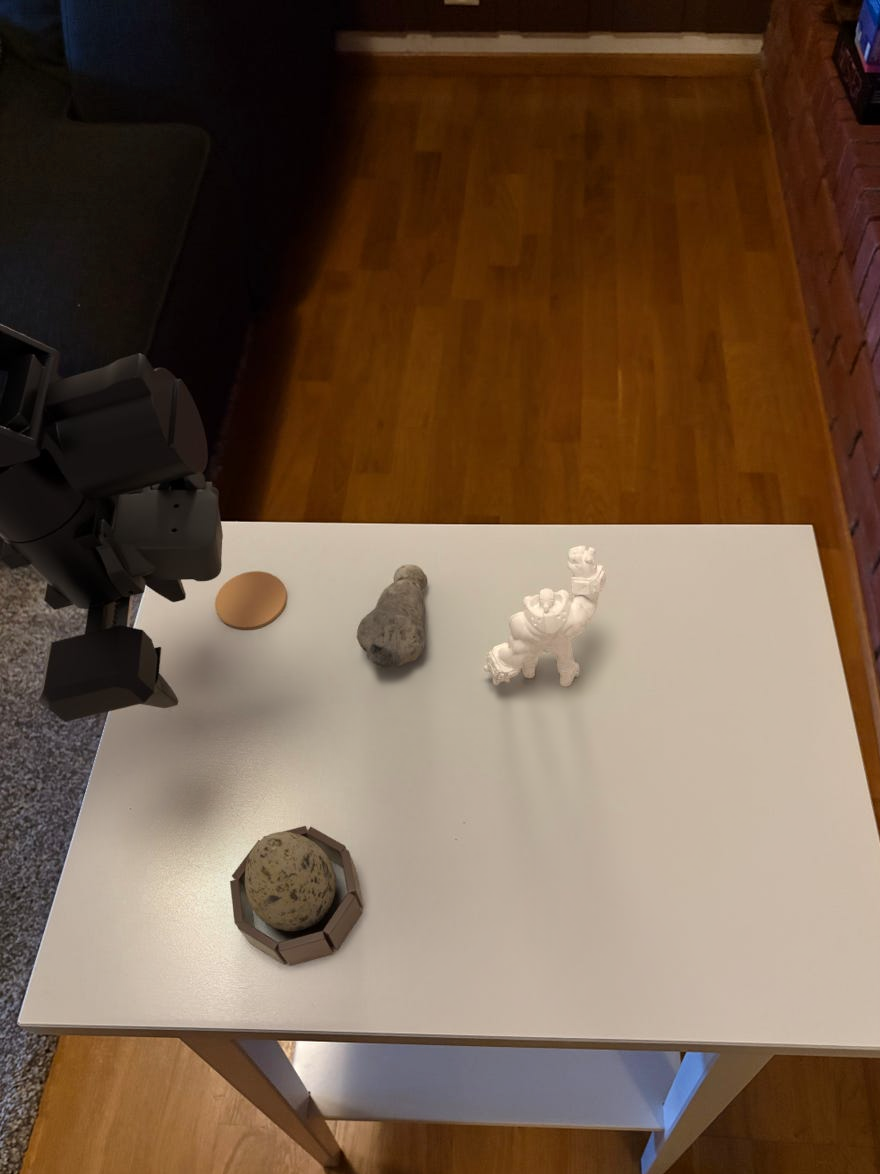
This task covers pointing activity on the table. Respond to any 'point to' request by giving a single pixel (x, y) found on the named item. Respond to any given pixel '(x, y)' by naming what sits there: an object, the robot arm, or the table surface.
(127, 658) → the robot arm
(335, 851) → the egg holder
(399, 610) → the stone
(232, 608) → the coaster
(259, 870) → the decorative egg
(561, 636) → the figurine
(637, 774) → the table surface
